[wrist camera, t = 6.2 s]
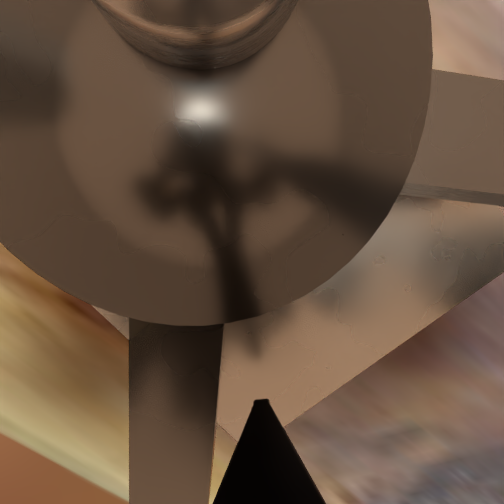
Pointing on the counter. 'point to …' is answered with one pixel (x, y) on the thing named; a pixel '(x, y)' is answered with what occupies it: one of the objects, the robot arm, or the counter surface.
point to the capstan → (219, 173)
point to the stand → (357, 308)
